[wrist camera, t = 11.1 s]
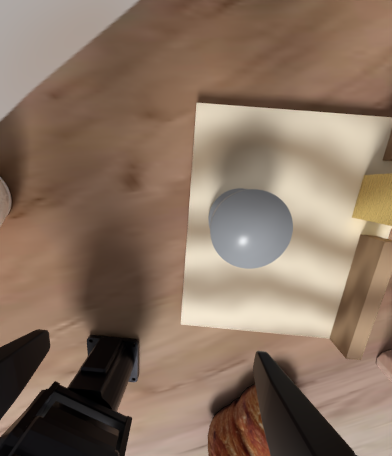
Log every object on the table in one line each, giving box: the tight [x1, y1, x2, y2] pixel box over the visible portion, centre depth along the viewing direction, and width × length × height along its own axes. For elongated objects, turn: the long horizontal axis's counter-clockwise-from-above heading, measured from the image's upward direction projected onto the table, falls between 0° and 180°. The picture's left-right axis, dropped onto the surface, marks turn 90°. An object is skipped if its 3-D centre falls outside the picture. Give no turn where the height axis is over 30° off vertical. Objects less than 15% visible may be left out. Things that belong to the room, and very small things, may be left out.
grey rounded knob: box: [208, 188, 293, 269], centre depth 16 cm, size 6×6×5 cm
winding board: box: [181, 103, 392, 360], centre depth 18 cm, size 23×20×4 cm
